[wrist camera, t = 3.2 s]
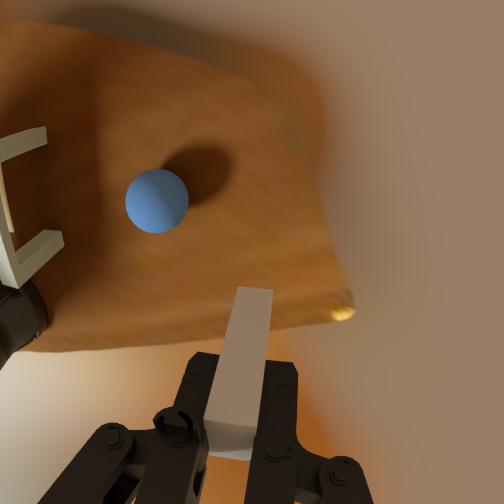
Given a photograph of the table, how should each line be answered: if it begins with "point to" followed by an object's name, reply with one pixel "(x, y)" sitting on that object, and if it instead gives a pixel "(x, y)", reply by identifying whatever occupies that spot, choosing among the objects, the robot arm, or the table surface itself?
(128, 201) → the ball
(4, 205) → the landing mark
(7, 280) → the bridge
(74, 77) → the table surface
